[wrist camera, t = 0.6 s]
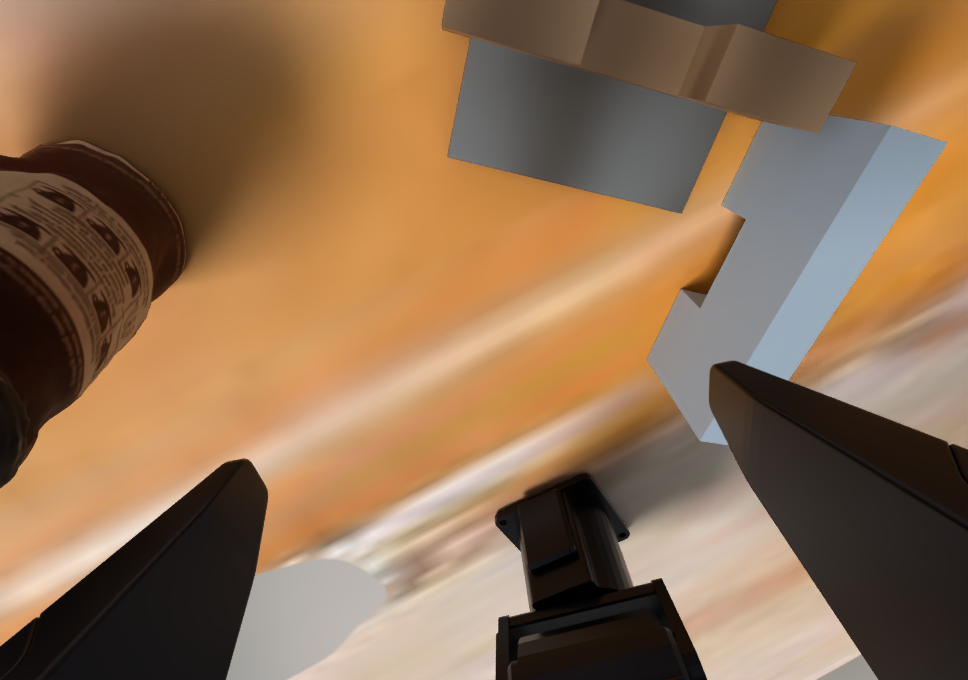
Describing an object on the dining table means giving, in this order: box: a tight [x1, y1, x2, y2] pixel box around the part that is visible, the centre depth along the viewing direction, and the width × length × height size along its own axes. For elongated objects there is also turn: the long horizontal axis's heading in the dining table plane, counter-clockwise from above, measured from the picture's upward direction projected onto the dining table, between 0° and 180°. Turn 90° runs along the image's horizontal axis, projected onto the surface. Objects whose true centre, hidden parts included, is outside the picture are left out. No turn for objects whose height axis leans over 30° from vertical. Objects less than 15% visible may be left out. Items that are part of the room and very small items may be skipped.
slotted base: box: [442, 0, 857, 214], centre depth 16 cm, size 12×10×4 cm
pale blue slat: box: [647, 115, 947, 445], centre depth 19 cm, size 12×2×6 cm, turn 166°
